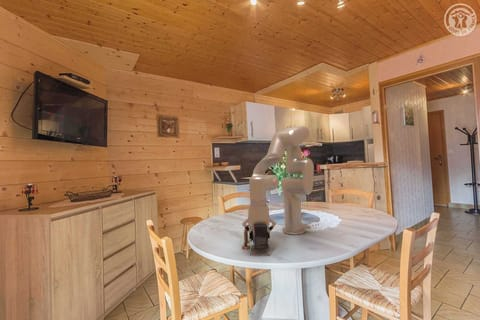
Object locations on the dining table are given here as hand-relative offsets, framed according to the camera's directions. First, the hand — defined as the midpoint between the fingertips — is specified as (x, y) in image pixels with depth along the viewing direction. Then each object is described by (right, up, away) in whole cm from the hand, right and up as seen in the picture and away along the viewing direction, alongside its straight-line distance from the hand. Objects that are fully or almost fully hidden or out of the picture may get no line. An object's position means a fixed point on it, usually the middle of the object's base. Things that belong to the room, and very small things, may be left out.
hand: (259, 239), depth 108 cm
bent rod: (-4, -5, +10) cm, 12 cm away
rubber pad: (0, -5, 0) cm, 5 cm away
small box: (0, -2, 0) cm, 2 cm away
